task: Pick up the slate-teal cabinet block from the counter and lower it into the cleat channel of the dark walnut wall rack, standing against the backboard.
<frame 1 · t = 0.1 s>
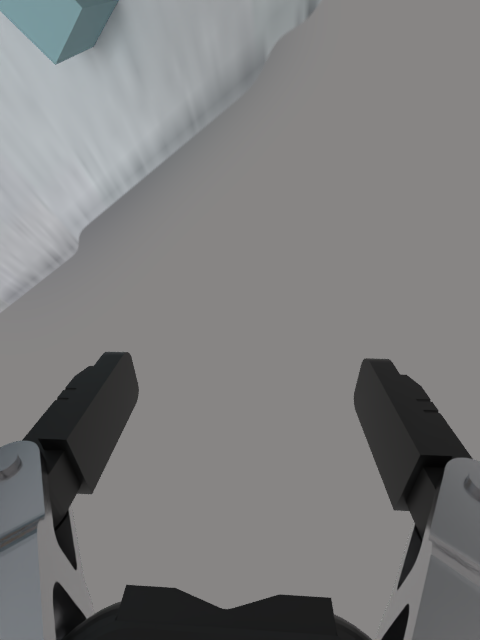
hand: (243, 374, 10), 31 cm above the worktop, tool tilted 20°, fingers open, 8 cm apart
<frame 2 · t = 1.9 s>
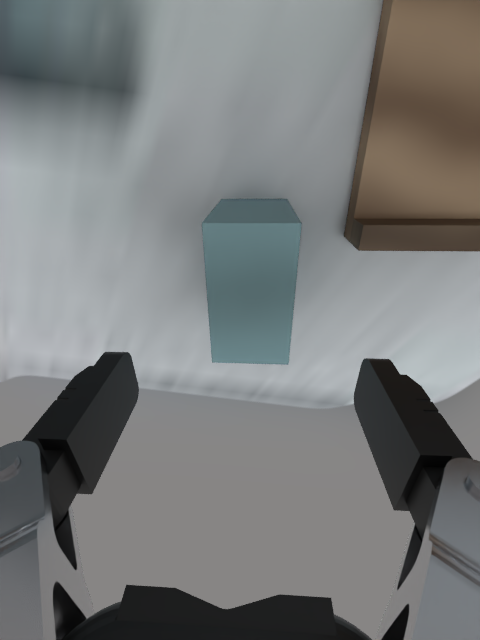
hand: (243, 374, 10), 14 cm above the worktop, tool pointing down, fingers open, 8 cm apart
cabinet block: (253, 255, 22), on the worktop
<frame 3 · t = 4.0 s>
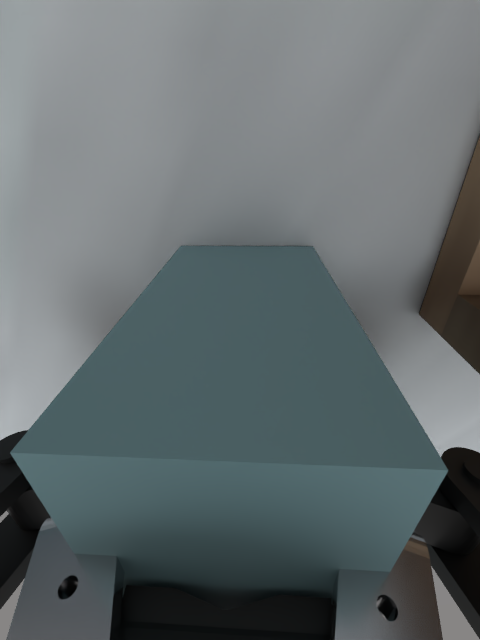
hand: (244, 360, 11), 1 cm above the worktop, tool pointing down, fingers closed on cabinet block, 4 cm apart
cabinet block: (246, 342, 12), on the worktop, touching gripper
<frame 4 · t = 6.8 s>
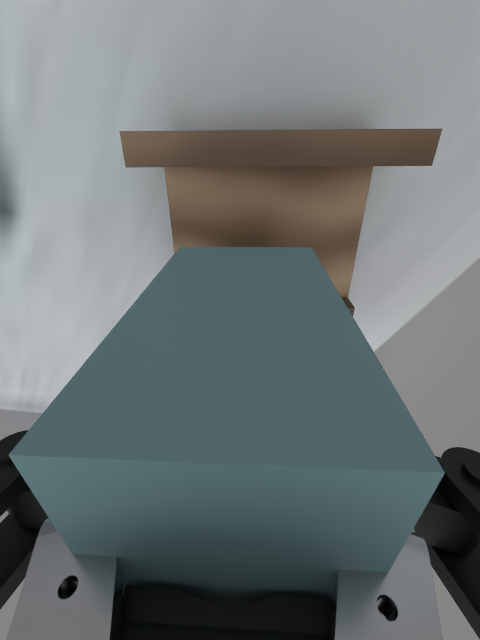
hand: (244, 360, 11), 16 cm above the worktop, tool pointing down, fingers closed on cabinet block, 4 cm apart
wall rack: (264, 224, 24), on the worktop
cabinet block: (245, 343, 12), point 15 cm above the worktop, touching gripper
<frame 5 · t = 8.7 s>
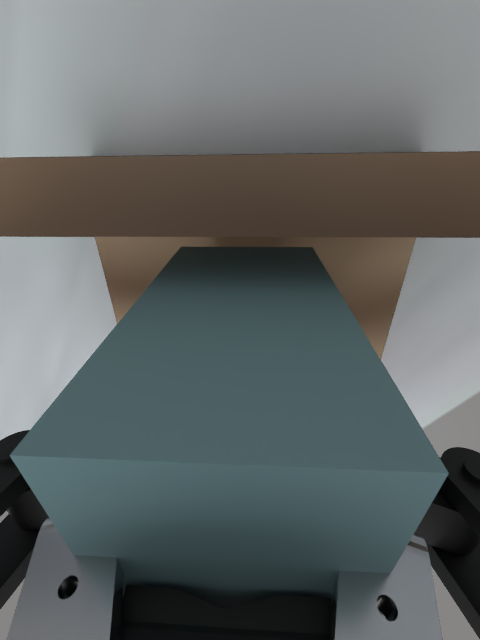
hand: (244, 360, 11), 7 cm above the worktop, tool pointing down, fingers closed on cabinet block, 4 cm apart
wall rack: (250, 278, 16), on the worktop
cabinet block: (246, 343, 12), point 5 cm above the worktop, touching gripper
when the fingers open (4 cm above the worktop, at t = 10.0 s): cabinet block stays where it is, resting on wall rack.
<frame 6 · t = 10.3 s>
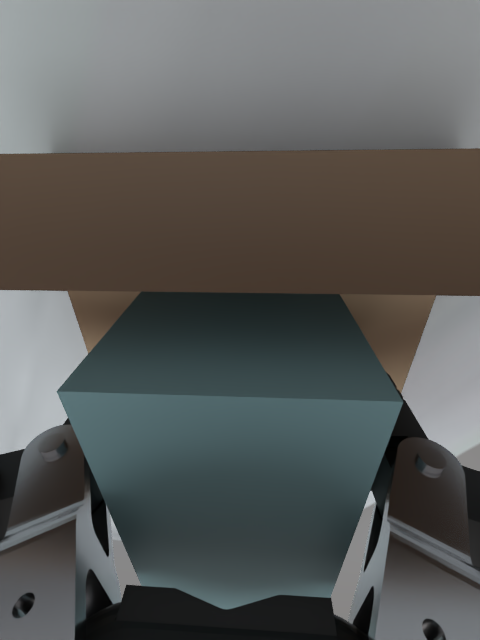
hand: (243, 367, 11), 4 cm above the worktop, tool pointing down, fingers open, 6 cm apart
wall rack: (247, 300, 14), on the worktop
cabinet block: (245, 331, 13), point 1 cm above the worktop, touching wall rack
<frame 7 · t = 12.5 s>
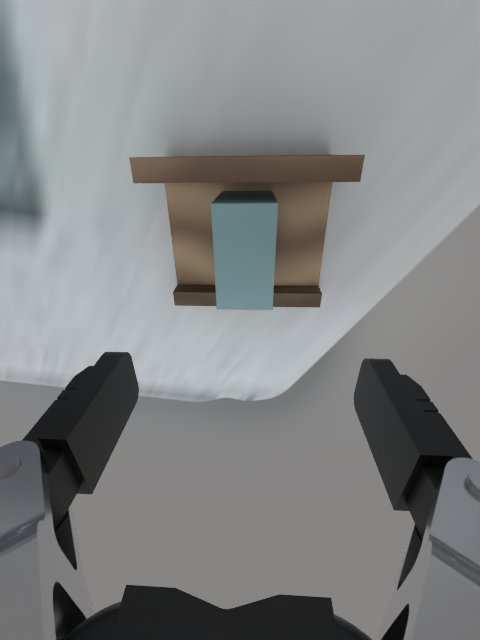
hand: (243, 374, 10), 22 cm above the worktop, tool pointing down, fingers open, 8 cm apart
wall rack: (247, 224, 29), on the worktop
cabinet block: (247, 235, 28), point 1 cm above the worktop, touching wall rack
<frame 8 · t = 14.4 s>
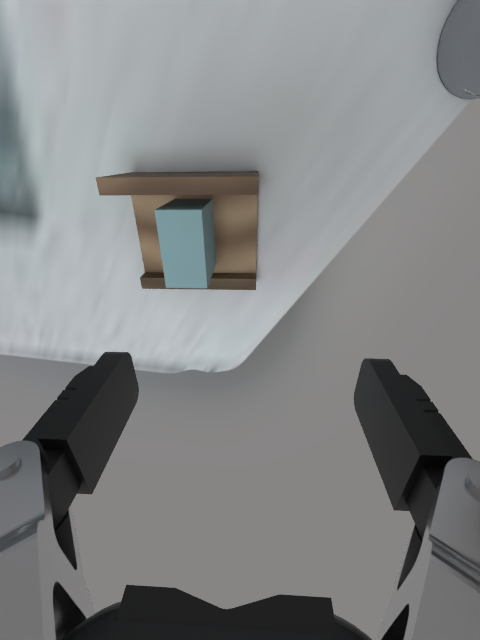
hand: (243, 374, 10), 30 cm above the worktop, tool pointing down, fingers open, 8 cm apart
wall rack: (198, 224, 37), on the worktop
cabinet block: (196, 233, 36), point 1 cm above the worktop, touching wall rack
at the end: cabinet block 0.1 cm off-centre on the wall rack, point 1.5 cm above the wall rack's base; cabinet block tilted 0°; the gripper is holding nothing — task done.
